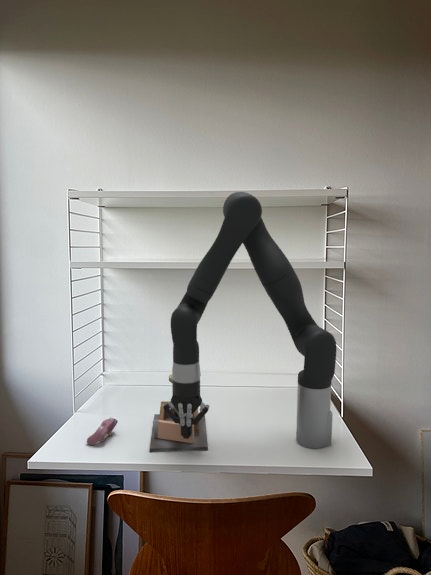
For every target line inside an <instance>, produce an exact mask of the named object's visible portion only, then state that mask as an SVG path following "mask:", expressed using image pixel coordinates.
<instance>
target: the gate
mask: <svg viewBox="0 0 431 575" xmlns="http://www.w3.org/2000/svg"><path fill="white" fill-rule="evenodd" d="M153 421H154V438H160V439H167V440H174V441H181V442H187V443H193V442H194V425H192V434H191V437H189V439H185V438H183V436H181V425H180V424H178V423H175V422H171V421H164V420H159V419H155V420H154V419H153Z"/></svg>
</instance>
